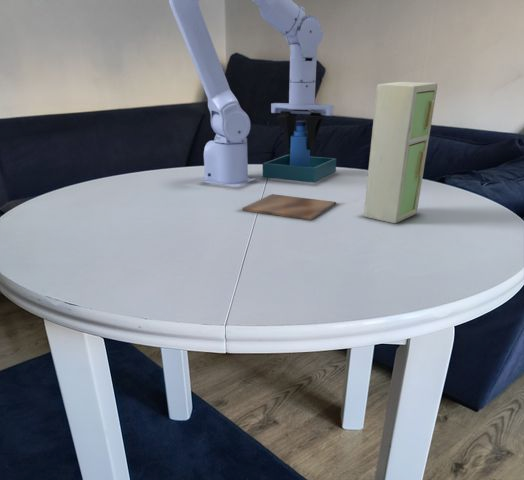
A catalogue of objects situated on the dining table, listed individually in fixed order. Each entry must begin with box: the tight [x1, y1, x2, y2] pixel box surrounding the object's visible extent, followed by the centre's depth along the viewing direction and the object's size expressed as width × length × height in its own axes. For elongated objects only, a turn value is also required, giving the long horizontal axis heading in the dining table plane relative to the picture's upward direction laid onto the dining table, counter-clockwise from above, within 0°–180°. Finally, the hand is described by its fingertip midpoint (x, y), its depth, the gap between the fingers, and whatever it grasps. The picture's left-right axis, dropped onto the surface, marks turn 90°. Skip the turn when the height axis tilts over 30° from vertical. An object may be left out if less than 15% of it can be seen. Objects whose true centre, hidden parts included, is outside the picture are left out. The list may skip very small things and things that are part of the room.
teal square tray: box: [262, 154, 337, 183], centre depth 115 cm, size 13×13×4 cm
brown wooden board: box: [242, 193, 336, 221], centre depth 93 cm, size 14×12×1 cm
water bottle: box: [289, 120, 311, 167], centre depth 112 cm, size 5×5×10 cm
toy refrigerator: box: [363, 81, 438, 224], centre depth 82 cm, size 8×7×21 cm
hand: (300, 148), depth 113 cm, fingers closed on water bottle, 4 cm apart
